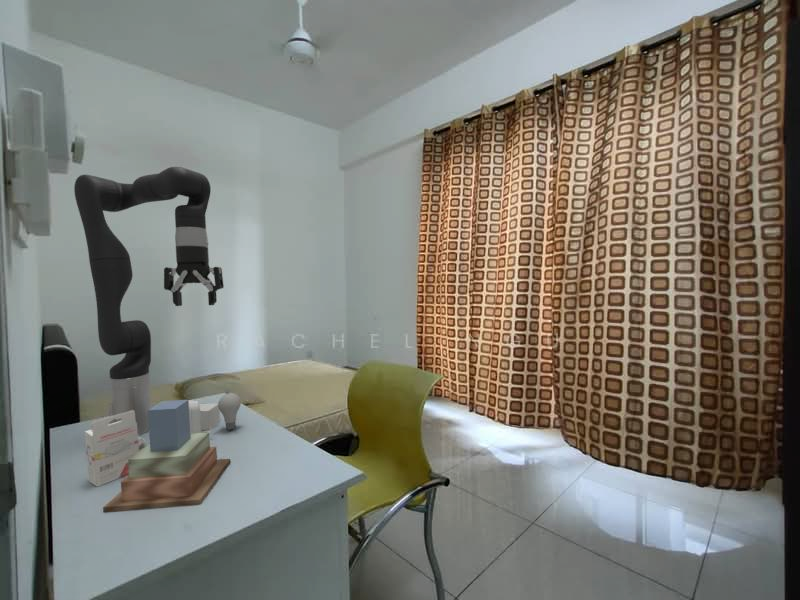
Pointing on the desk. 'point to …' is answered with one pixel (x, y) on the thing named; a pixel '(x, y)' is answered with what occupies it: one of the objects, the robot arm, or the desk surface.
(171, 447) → the slate brick
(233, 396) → the lightbulb
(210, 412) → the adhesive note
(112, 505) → the stepped tiered pedestal
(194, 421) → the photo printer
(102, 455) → the ink cartridge box
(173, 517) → the desk surface
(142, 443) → the game die
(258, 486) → the desk surface
